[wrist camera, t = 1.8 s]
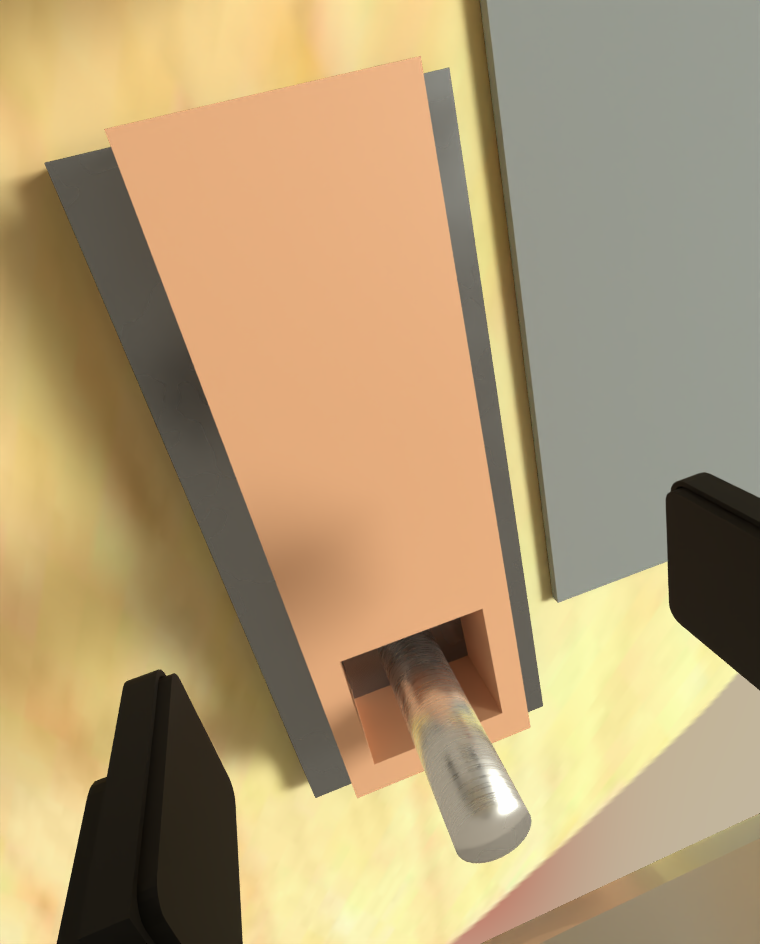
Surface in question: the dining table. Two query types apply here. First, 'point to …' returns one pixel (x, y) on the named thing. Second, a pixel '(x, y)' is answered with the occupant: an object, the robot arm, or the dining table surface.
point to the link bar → (338, 378)
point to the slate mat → (631, 259)
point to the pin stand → (236, 540)
